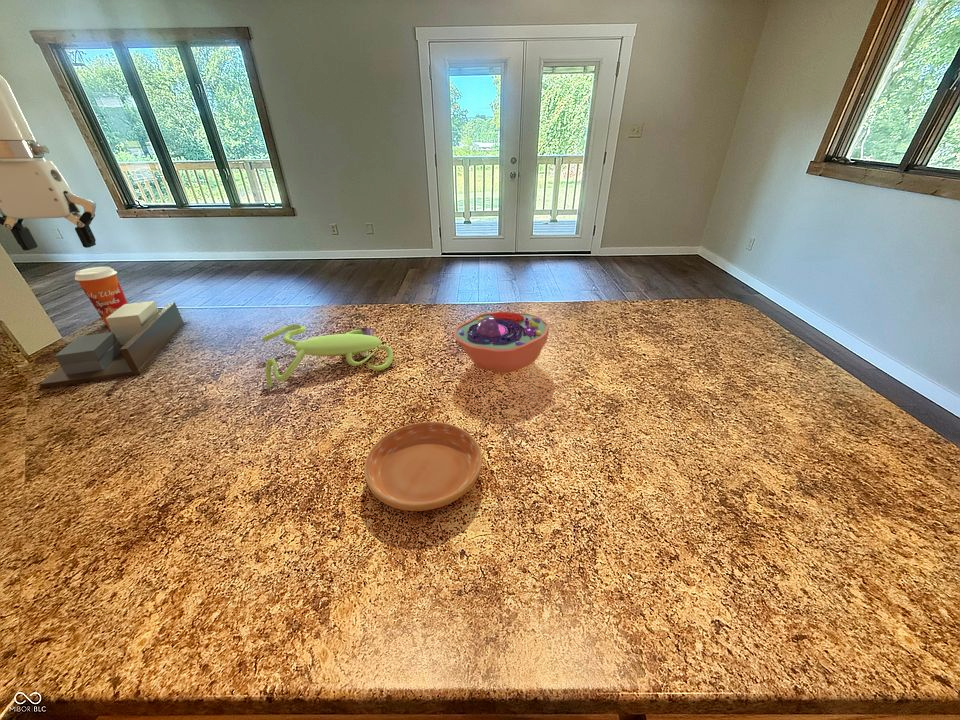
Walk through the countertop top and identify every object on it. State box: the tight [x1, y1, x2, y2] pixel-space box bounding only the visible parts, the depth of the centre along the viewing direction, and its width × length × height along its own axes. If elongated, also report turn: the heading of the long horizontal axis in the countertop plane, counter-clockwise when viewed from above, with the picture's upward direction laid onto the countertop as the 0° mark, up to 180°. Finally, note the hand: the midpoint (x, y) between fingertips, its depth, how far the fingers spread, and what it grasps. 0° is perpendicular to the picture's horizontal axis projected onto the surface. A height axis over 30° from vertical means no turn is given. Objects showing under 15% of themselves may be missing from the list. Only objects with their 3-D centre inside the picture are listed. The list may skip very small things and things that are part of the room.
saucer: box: [363, 421, 483, 512], centre depth 53 cm, size 16×16×3 cm
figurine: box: [262, 324, 394, 388], centre depth 81 cm, size 18×27×6 cm
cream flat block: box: [106, 300, 159, 327], centre depth 88 cm, size 6×9×2 cm, turn 18°
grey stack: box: [54, 332, 122, 375], centre depth 78 cm, size 6×9×4 cm
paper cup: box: [74, 266, 129, 328], centre depth 95 cm, size 8×8×14 cm
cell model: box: [453, 310, 550, 374], centre depth 77 cm, size 17×20×11 cm
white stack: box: [108, 309, 161, 345], centre depth 89 cm, size 6×9×4 cm
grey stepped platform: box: [38, 301, 185, 389], centre depth 84 cm, size 16×26×6 cm, turn 18°
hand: (61, 247), depth 77 cm, fingers open, 9 cm apart
